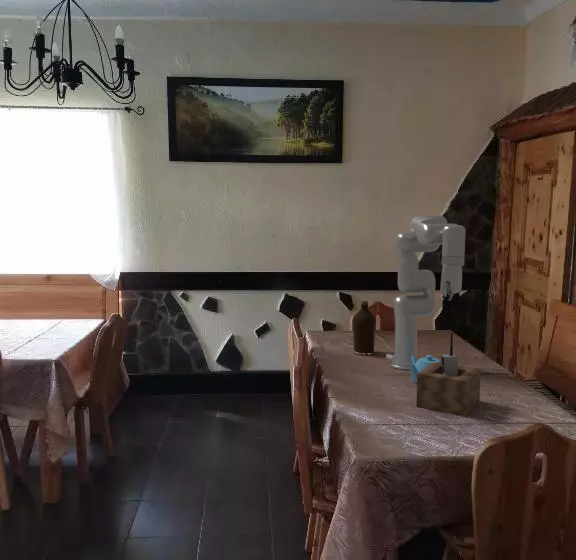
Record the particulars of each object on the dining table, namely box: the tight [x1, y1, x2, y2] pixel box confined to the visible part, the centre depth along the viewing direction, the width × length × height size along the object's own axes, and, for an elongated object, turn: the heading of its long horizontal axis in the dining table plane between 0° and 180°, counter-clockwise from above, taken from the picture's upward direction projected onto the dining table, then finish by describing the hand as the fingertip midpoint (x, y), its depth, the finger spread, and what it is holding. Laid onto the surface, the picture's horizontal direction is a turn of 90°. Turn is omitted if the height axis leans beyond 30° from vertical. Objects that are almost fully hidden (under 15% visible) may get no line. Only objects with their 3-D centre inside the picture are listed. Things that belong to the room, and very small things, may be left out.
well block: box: [416, 362, 482, 417], centre depth 214 cm, size 18×18×12 cm
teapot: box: [410, 354, 442, 384], centre depth 240 cm, size 15×15×11 cm
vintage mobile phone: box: [440, 332, 459, 376], centre depth 213 cm, size 4×5×25 cm
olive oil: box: [352, 300, 377, 354], centre depth 284 cm, size 11×11×25 cm
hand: (451, 309), depth 210 cm, fingers open, 9 cm apart
